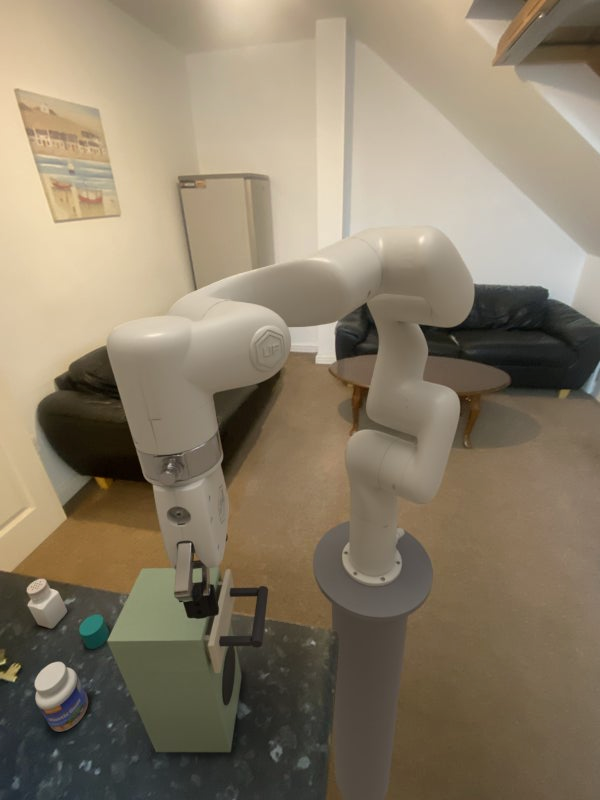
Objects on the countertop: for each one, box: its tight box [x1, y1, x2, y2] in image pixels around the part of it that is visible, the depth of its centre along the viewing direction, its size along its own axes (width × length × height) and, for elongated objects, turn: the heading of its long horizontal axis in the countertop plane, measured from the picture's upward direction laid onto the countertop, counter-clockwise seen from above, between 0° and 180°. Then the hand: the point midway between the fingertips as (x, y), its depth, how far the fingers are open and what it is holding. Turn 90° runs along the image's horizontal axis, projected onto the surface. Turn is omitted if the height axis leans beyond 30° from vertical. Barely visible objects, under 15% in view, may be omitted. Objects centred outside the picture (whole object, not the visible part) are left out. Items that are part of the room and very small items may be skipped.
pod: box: [78, 614, 110, 650], centre depth 69 cm, size 4×4×4 cm
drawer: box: [203, 568, 269, 673], centre depth 48 cm, size 16×10×5 cm, turn 89°
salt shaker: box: [26, 578, 68, 629], centre depth 71 cm, size 4×4×10 cm
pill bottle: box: [34, 661, 89, 732], centre depth 57 cm, size 5×5×10 cm
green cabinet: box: [106, 566, 242, 753], centre depth 52 cm, size 11×10×26 cm
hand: (210, 574), depth 43 cm, fingers open, 9 cm apart
